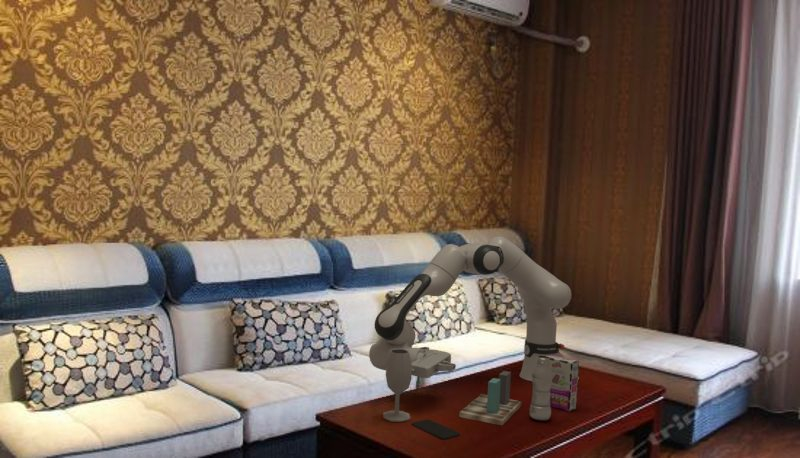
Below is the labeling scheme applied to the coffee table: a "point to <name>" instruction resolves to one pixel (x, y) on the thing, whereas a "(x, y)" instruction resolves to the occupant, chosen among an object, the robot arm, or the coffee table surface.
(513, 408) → the divided base tray
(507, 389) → the grey slab
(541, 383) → the plastic bottle
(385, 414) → the wineglass
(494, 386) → the upright teal brick
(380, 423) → the coffee table surface
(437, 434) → the phone
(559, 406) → the candy bar box
